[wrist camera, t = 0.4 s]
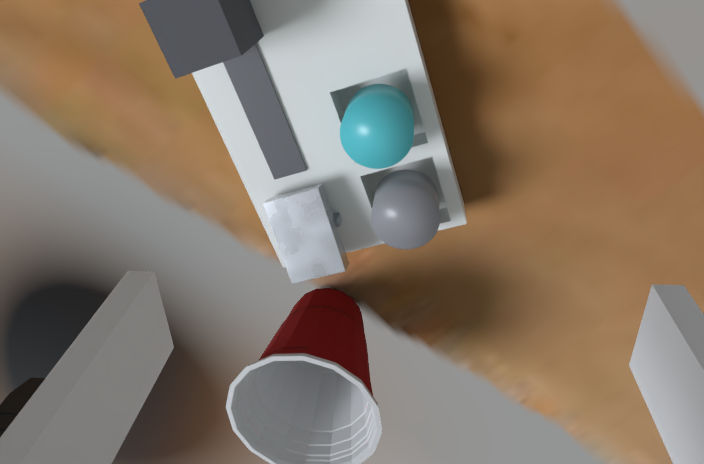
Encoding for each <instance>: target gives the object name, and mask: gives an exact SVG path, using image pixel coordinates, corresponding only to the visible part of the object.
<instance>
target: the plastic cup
mask: <svg viewBox="0 0 704 464" xmlns="http://www.w3.org/2000/svg"><path fill="white" fill-rule="evenodd" d="M226 409H227V412H228V416H229V419H230V422H231V425H232V428H233V431H234V432H235V433H236V434H237V435H238V436H239V438H240V439H241V440H242V442H243V443H244V444H245V445H246V446H247V447H248V449H249V450H250V451H251V452H253V453H255V454H256V455H258V456H259V457H261V458H263V459H264V460H265V461H267V462H269V463H270V464H361V463H362V462H363V461H365V460H366V459H367V458H368V457H369V456H371V455H372V454H373V453H374V451H375V449H376V446H377V444H378V441H379V439H380V436H381V433H382V428H381V421H380V415H379V409H378V403H377V402H376V400H375V399H374V397H373V393H372V388H371V382H370V373H369V363H368V353H367V345H366V339H365V334H364V327H363V320H362V314H361V311H360V308H359V306H358V305H357V304H356V302H355V301H354V299H353V298H351V297H350V296H348V295H347V294H345V293H344V292H342V291H338V290H335V289H331V288H323V289H315V290H313V291H311V292H308V293H306V294H305V295H304V296H303V297H302V298H301V299H300V300H299V301H298V302H297V304H296V305H295V306H294V307H293V309H292V311H291V313H290V314H289V316H288V317H287V319H286V320H285V321H284V323H283V324H282V325H281V327H280V328H279V330H278V331H277V333H276V334H275V336H274V337H273V339H272V341H271V342H270V344H269V345H268V347H267V348H266V350H265V351H264V353H263V354H262V356H261V358H260V359H259V360H258V361H256V362H253V363H251V364H249V365H248V366H247V367H246V368H245V369H244V370H243V371H242V372H241V373H240V374H239V375H238V377H237V378H236V379H235V380H234V381H233V382H232V383H231V385H230V388H229V393H228V399H227V404H226Z"/></svg>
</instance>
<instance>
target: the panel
mask: <svg viewBox="0 0 704 464" xmlns="http://www.w3.org/2000/svg"><path fill="white" fill-rule="evenodd" d="M250 2H251V5H252V7H253V10H254V12H255V15H256V17H257V20H258V22H259V25H260V27H261V30H262V32H263V35H264V37H263V38H261V39H260V40H259V41H258V42H257V43H256V44H254V45H253V46H252V47H251V48H250V49H249V50H248V51H246V52H245V53H244V54H243V55H242V56H239V57H236V58H233V59H230V60H228V61H225V62H222V63H219V64H216V65H213V66H210V67H207V68H204V69H202V70H199V71H196V72H193V73H192V74H193V76H194V78H195V81H196V83H197V85H198V87H199V89H200V91H201V93H202V96H203V98H204V100H205V102H206V104H207V106H208V108H209V110H210V113H211V115H212V117H213V119H214V121H215V123H216V125H217V128H218V130H219V132H220V134H221V136H222V138H223V140H224V143H225V145H226V147H227V149H228V151H229V153H230V155H231V157H232V160H233V162H234V164H235V166H236V168H237V170H238V172H239V175H240V177H241V179H242V181H243V183H244V185H245V187H246V190H247V192H248V194H249V196H250V198H251V200H252V202H253V204H254V207H255V209H256V211H257V213H258V215H259V217H260V219H261V222H262V224H263V226H264V228H265V230H266V232H267V234H268V237H269V239H270V241H271V243H272V245H273V247H274V249H275V251H276V254H277V256H278V258H279V260H280V262H281V264H282V266H283V268H284V267H286V266H285V264H284V261H283V258H282V255H281V253H280V250H279V247H278V244H277V241H276V239H275V236H274V233H273V230H272V228H271V225H270V222H269V219H268V216H267V214H266V211H265V208H264V205H263V203H264V202H265V201H266V200H267V199H269V198H271V197H275V196H278V195H282V194H286V193H289V192H293V191H297V190H300V189H304V188H308V187H311V186H315V185H319V184H322V183H323V186H324V189H325V192H326V195H327V198H328V201H329V204H330V207H331V210H332V213H333V217H334V220H335V223H336V226H337V229H338V232H339V235H340V238H341V241H342V244H343V247H344V250H345V253H346V252H351V251H355V250H359V249H363V248H367V247H372V246H376V245H380V244H384V242H383V241H381V240H380V239H379V238H378V237H377V235H376V234H375V232H374V230H373V228H372V225H371V213H372V207H373V200H374V194H375V190H376V187H377V185H378V184H379V182H380V181H381V180H382V179H383V178H384V177H385V176H386V175H388V174H390V173H392V172H394V171H397V170H404V169H408V170H415V171H418V172H421V173H423V174H424V175H426V176H427V177H429V178H430V179H431V180H432V182H433V183H434V184H435V186H436V188H437V191H438V197H439V213H440V224H439V228H438V230H437V231H439V230H443V229H447V228H451V227H455V226H459V225H464V224H467V221H466V214H465V207H464V202H463V198H462V195H461V191H460V188H459V184H458V180H457V177H456V173H455V169H454V166H453V162H452V158H451V155H450V151H449V148H448V144H447V140H446V137H445V133H444V129H443V126H442V122H441V119H440V115H439V111H438V108H437V104H436V100H435V97H434V93H433V89H432V86H431V82H430V79H429V75H428V71H427V68H426V64H425V60H424V57H423V53H422V49H421V46H420V42H419V39H418V35H417V31H416V28H415V24H414V20H413V17H412V13H411V9H410V6H409V2H408V0H250ZM372 84H387V85H390V86H393V87H395V88H397V89H399V90H400V91H402V92H403V93H404V94H405V95H406V96H407V97H408V99H409V100H410V102H411V104H412V107H413V110H414V139H413V144H412V147H411V149H410V151H409V152H408V154H407V155H406V156H405V157H404V158H403V159H402V160H401V161H400V162H398V163H397V164H395V165H393V166H390V167H387V168H382V169H373V168H368V167H364V166H362V165H360V164H358V163H356V162H355V161H354V160H352V159H351V158H350V157H349V156H348V154H347V153H346V152H345V150H344V148H343V146H342V143H341V140H340V126H341V122H342V119H343V117H344V114H345V111H346V108H347V105H348V103H349V101H350V99H351V98H352V97H353V95H354V94H355V93H356V92H358V91H359V90H360V89H362V88H364V87H366V86H369V85H372Z"/></svg>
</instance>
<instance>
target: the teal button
mask: <svg viewBox="0 0 704 464" xmlns="http://www.w3.org/2000/svg"><path fill="white" fill-rule="evenodd" d="M413 139H414V110H413V107H412V104H411V102H410V100H409V99H408V97H407V96H406V95H405V94H404V93H403V92H402V91H400V90H399V89H397V88H395V87H393V86H390V85H387V84H372V85H369V86H366V87H364V88H362V89H360V90H359V91H358V92H356V93H355V94H354V95H353V97H352V98H351V99H350V101H349V103H348V105H347V108H346V111H345V114H344V117H343V119H342V122H341V126H340V140H341V143H342V146H343V148H344V150H345V152H346V153H347V154H348V156H349V157H350V158H351V159H352V160H354V161H355V162H356V163H358V164H360V165H362V166H364V167H368V168H373V169H382V168H387V167H390V166H393V165H395V164H397V163H398V162H400V161H401V160H402V159H403V158H404V157H405V156H406V155H407V154H408V152H409V151H410V149H411V147H412V144H413Z"/></svg>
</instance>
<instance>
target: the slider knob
mask: <svg viewBox="0 0 704 464" xmlns="http://www.w3.org/2000/svg"><path fill="white" fill-rule="evenodd" d="M139 5H140V7H141V9H142V11H143V13H144V15H145V17H146V19H147V21H148V23H149V25H150V27H151V29H152V31H153V34H154V36H155V38H156V40H157V42H158V44H159V46H160V48H161V50H162V52H163V54H164V56H165V58H166V60H167V62H168V65H169V67H170V69H171V71H172V73H173V75H174V77H175V79H176V78H178V77H181V76H184V75H187V74H190V73H193V72H196V71H199V70H202V69H204V68H207V67H210V66H213V65H216V64H219V63H222V62H225V61H228V60H230V59H233V58H236V57H239V56H242V55H243V54H244V53H245V52H246V51H248V50H249V49H250V48H251V47H252V46H253V45H254V44H256V43H257V42H258V41H259V40H260V39H261V38H263V37H264V35H263V32H262V30H261V27H260V25H259V22H258V20H257V17H256V15H255V12H254V10H253V7H252V5H251V2H250V0H146V1H144V2H141V3H139Z"/></svg>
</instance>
